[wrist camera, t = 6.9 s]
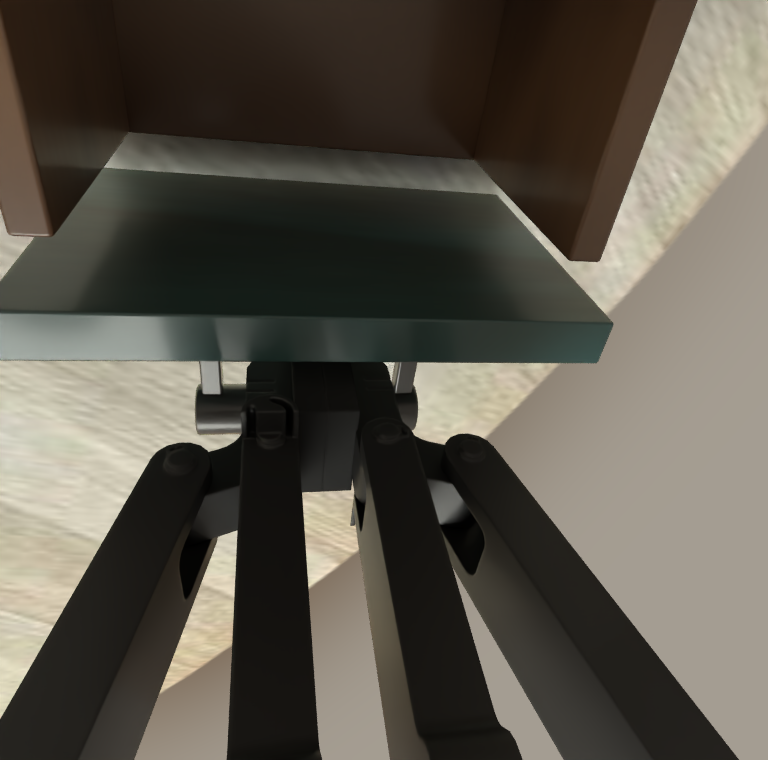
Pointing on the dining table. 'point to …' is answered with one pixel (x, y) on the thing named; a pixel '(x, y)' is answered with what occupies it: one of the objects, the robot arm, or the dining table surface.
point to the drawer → (312, 199)
